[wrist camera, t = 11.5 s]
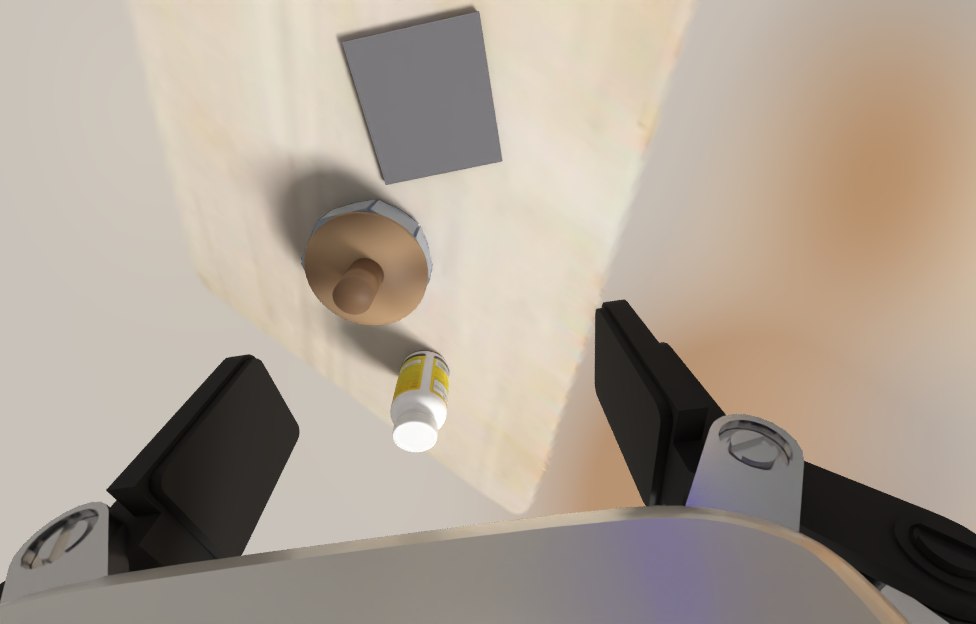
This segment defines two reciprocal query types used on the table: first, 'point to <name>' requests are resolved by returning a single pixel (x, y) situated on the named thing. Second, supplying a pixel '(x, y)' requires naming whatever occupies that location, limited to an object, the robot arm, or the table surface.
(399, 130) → the mat
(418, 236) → the bowl
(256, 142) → the table surface
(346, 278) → the lid
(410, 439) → the supplement bottle
